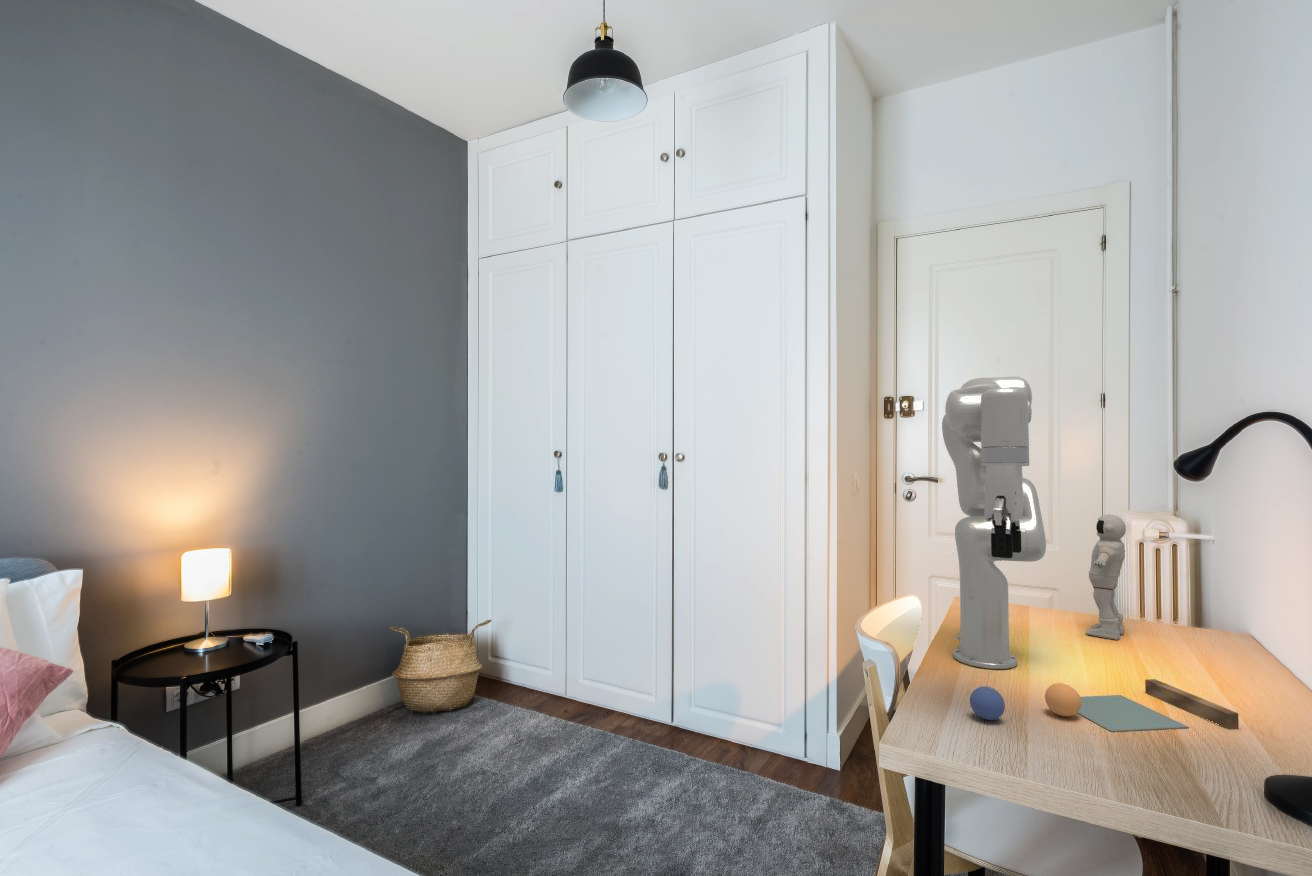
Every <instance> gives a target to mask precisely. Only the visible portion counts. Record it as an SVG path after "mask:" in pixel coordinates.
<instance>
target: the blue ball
mask: <svg viewBox="0 0 1312 876" xmlns="http://www.w3.org/2000/svg"><path fill="white" fill-rule="evenodd" d="M969 704H970V707H971V710H972V711H973V712H974V714H975V715H976V716H978V717H979V718H981V719H983V720H986V721H994V720H998V719H999V718H1000V717H1002V715H1003V714H1004V712H1005V708H1006V703H1005V700H1004V698H1003V696H1002V695H1001V693H1000V692H999V691H998V690H996V689H995V688H993V687H990V686H987V685H986V686H983V685H982V686H979V687H976V688H975V689H973V690H972V691H971V693H970V697H969Z"/></svg>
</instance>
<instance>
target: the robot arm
mask: <svg viewBox="0 0 1312 876" xmlns="http://www.w3.org/2000/svg"><path fill="white" fill-rule="evenodd" d="M1032 400H1033V394H1032V388H1031V386H1030V384H1029V382H1028V381H1027V380H1026V379H1025V378H1023V377H1020V376H1000V377H998V376H997V377H979V378H978V377H977V378H972V379H970V380H968V381H966V382H965V383H963V384H962V386H961V387H960V388H958V389H954V390H952V391H951V392H949V394H948V396H947V398H946V402H945V409H944V410H945V414H944V415H943V418H942V423H941V431H942V437H943V442H944V445H945V448H946V451H947V452H948V455H949V457H950V458H951V461H952V462H953V465H954V468H955V474H956V475H955V476H956V485H957V495H958V504H959V507H960V509H961V511H962V513H963V514H965V516H966V517H963V518H961V519H960V520H959V521H958V522H957V523H956V525H955V527H954V537H955V538H954V539H955V546H956V551H957V557H958V568H959V603H960V605H959V609H960V610H959V611H960V612H959V615H960V616H959V618H960V619H959V620H960V628H959V629H960V632H959V633H957V634H955V639H956V640H958V641H959V647H956V648H954V649H953V651H952V656H953V658H954V659H955V660H956V659H957V661H958V662H960V663H962V664H966V665H969V666H972V667H976V668H984V669H991V670H993V669H994V670H1006V669H1012V668H1014V667H1017V665H1018V658H1017V657H1016V655H1014V654H1012V653H1010V635H1009V634H1010V630H1009V629H1010V626H1009V625H1010V623H1009V622H1010V621H1009V616H1010V615H1009V613H1010V612H1009V610H1010V609H1009V583H1008V580H1007V577H1006V575H1005V574H1004V572H1003V571H1002V570H1001V569H1000V568H998V567H997V566H996V564H995V562H1001V561H1005V562H1006V561H1007V562H1027V563H1028V562H1037V561H1040V560H1041V559H1043V557H1044V556H1045V554H1046V551H1047V549H1046V548H1047V538H1046V534H1045V533H1046V532H1045V527H1044V523H1043V522H1044V521H1043V516H1042V512H1041V506H1040V501H1039V496H1038V495H1039V494H1038V492H1037V489H1036V486H1035V484H1034V483H1033V482H1032V481H1031V480H1030V479H1028V478H1025V477H1023V467H1029V466H1030V447H1029V446H1030V438H1029V437H1030V434H1029V432H1030V431H1029V424H1030V423H1031V421H1032V413H1033V411H1032V402H1033V401H1032ZM975 443H980V446H978V445H977V444H975Z"/></svg>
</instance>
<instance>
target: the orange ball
mask: <svg viewBox="0 0 1312 876" xmlns="http://www.w3.org/2000/svg"><path fill="white" fill-rule="evenodd" d="M1080 697H1081V696H1080V694H1079V692H1078V691H1077V690H1076V689H1075V688H1074V687H1072V686H1070V685H1068V684H1066V683H1061V682H1060V683H1059V682H1058V683H1053V684H1051V685H1050V686H1048V688H1047V689H1046V691H1045V694H1044V700H1045V703H1046V706H1047V707H1048V708H1049V710H1050V711H1052V712H1053V713H1054V714H1056V715H1058V716H1061V717H1066V718H1067V717H1068V718H1069V717H1072V716H1075V715H1076V714H1077V713H1078V712H1079V710H1080V708H1081V698H1080Z"/></svg>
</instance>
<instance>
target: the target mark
mask: <svg viewBox="0 0 1312 876" xmlns="http://www.w3.org/2000/svg"><path fill="white" fill-rule="evenodd" d="M1080 698H1081V708H1080V710H1079V712H1078V713H1076V714H1078V716H1081V717H1083V718H1085V719H1087V720H1088V721H1090V722H1092V723H1093V724H1096V725H1097V726H1100V727H1101V728H1103V729H1104V730H1106V731H1109V732H1110V733H1117V732H1118V733H1120V732H1135V731H1136V732H1137V731H1139V732H1140V731H1154V730H1155V731H1158V730H1159V731H1161V730H1174V729H1175V730H1176V729H1177V730H1178V729H1179V730H1180V729H1190V726H1188V725H1186V724H1184V723H1182V722H1180V721H1177V720H1175V719H1173V718H1171V717H1169V716H1167V715H1164V714H1162V713H1161V712H1158V711H1156V710H1154V709H1151V708H1149V707H1148V706H1145V705H1143V704H1141V703H1139V702H1137V701H1135V700H1132V699H1131V698H1128V697H1125V696H1123V695H1122V694H1115V695H1112V694H1109V695H1108V694H1107V695H1090V696H1086V695H1085V696H1080Z"/></svg>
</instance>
